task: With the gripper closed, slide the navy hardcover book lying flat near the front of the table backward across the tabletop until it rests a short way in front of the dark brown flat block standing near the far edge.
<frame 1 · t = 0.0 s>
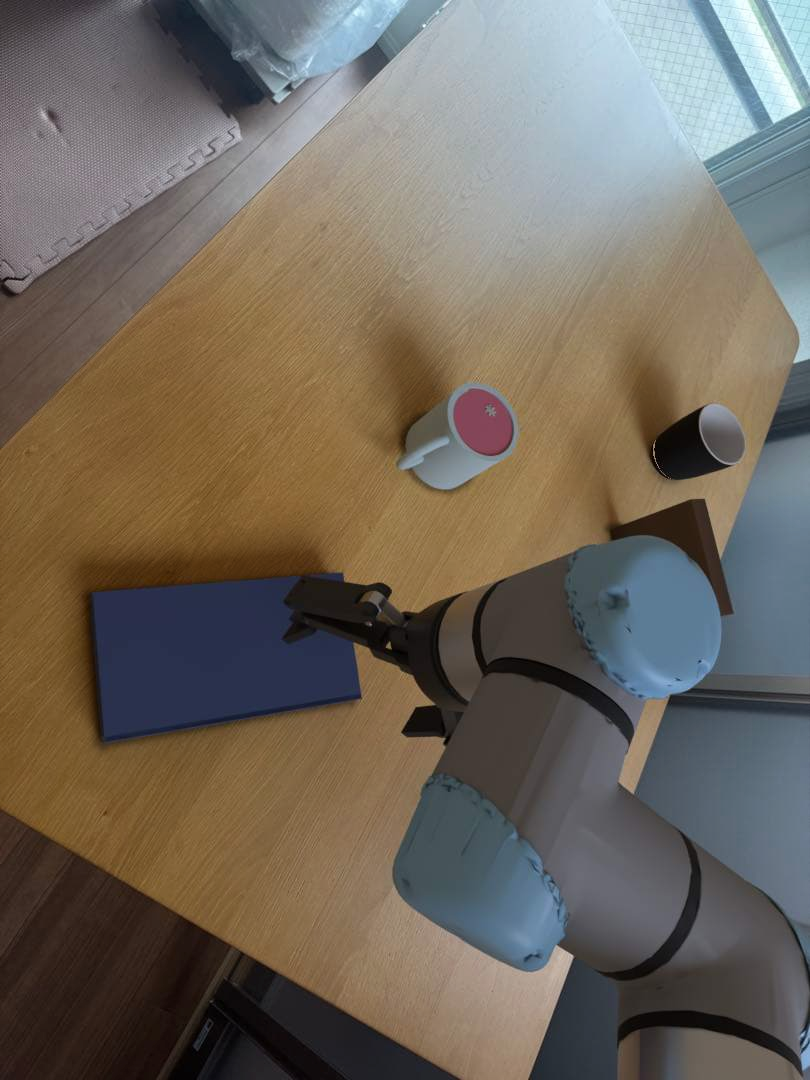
hand: (353, 676, 64), 12 cm above the table, tool pointing down, fingers open, 13 cm apart
mug 2: (424, 459, 87), on the table
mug: (669, 453, 108), on the table
book: (228, 652, 71), on the table
dark brown flat block: (627, 579, 97), on the table
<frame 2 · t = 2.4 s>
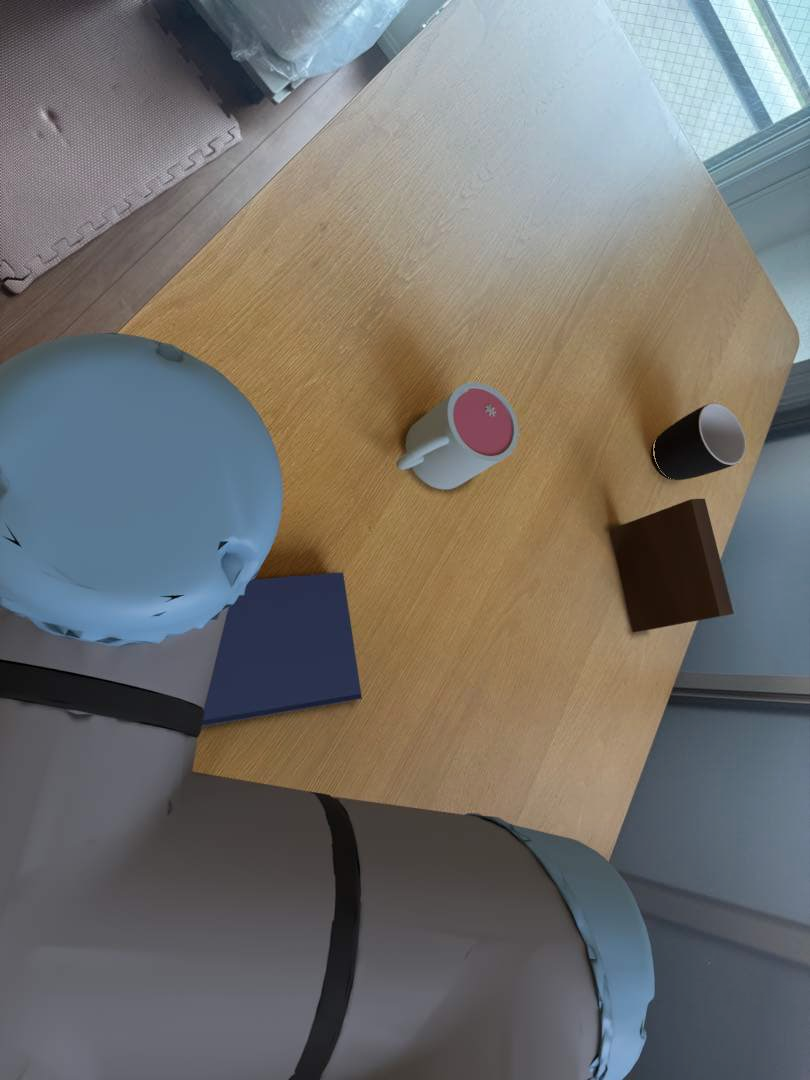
hand: (60, 653, 50), 16 cm above the table, tool pointing down, fingers closed
nothing on the table moved.
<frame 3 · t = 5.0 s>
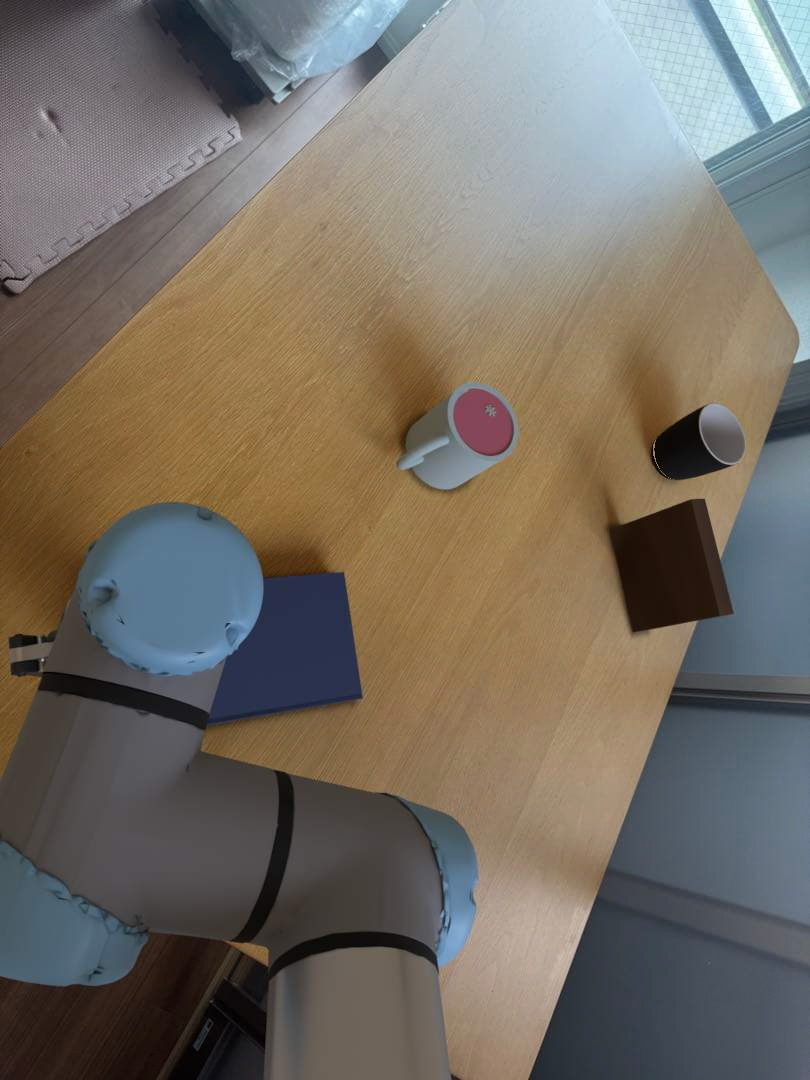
hand: (90, 665, 63), 2 cm above the table, tool pointing down, fingers closed
book: (229, 652, 71), on the table, touching gripper
everything else where it was.
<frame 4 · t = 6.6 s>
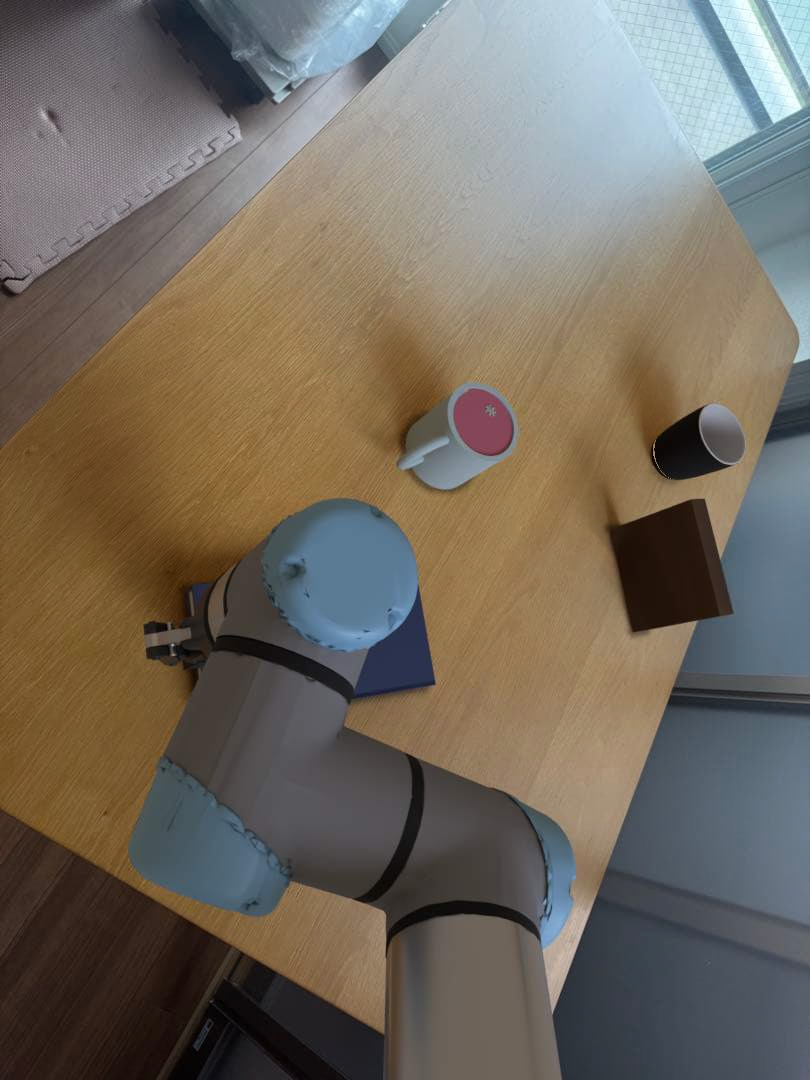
hand: (189, 654, 68), 2 cm above the table, tool pointing down, fingers closed
book: (311, 641, 75), on the table, touching gripper
everything else where it was.
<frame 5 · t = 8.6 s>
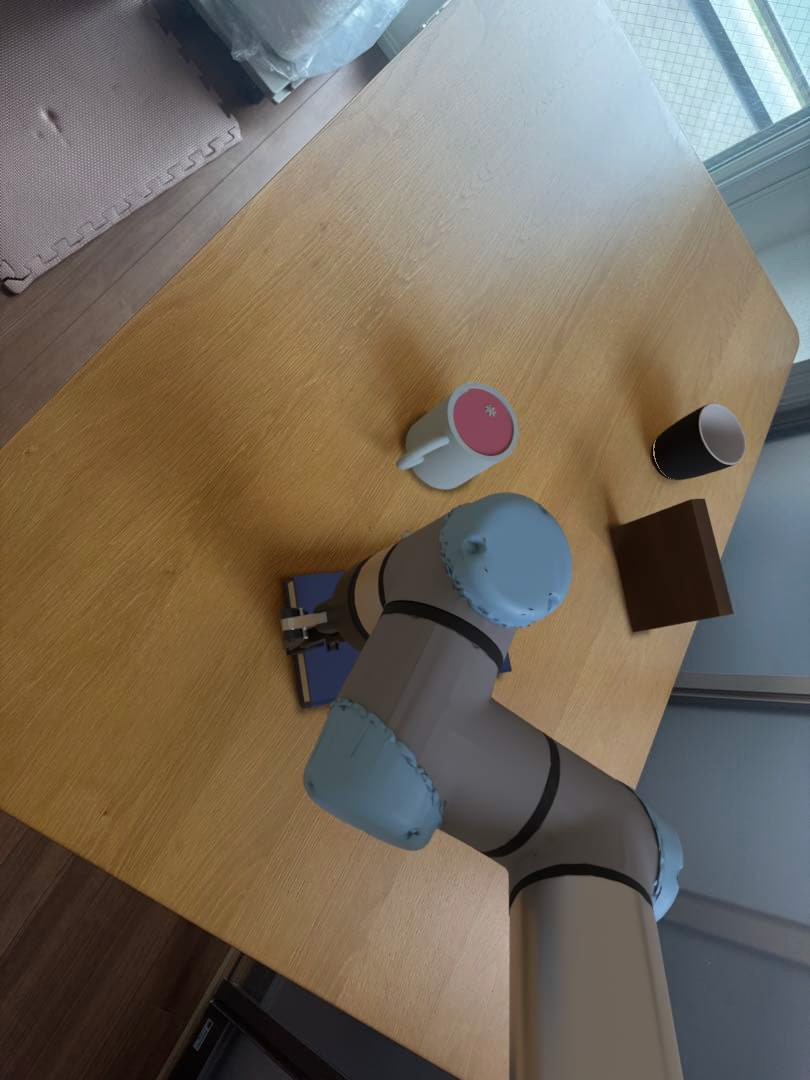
hand: (291, 641, 72), 2 cm above the table, tool pointing down, fingers closed
book: (396, 630, 80), on the table, touching gripper
everything else where it was.
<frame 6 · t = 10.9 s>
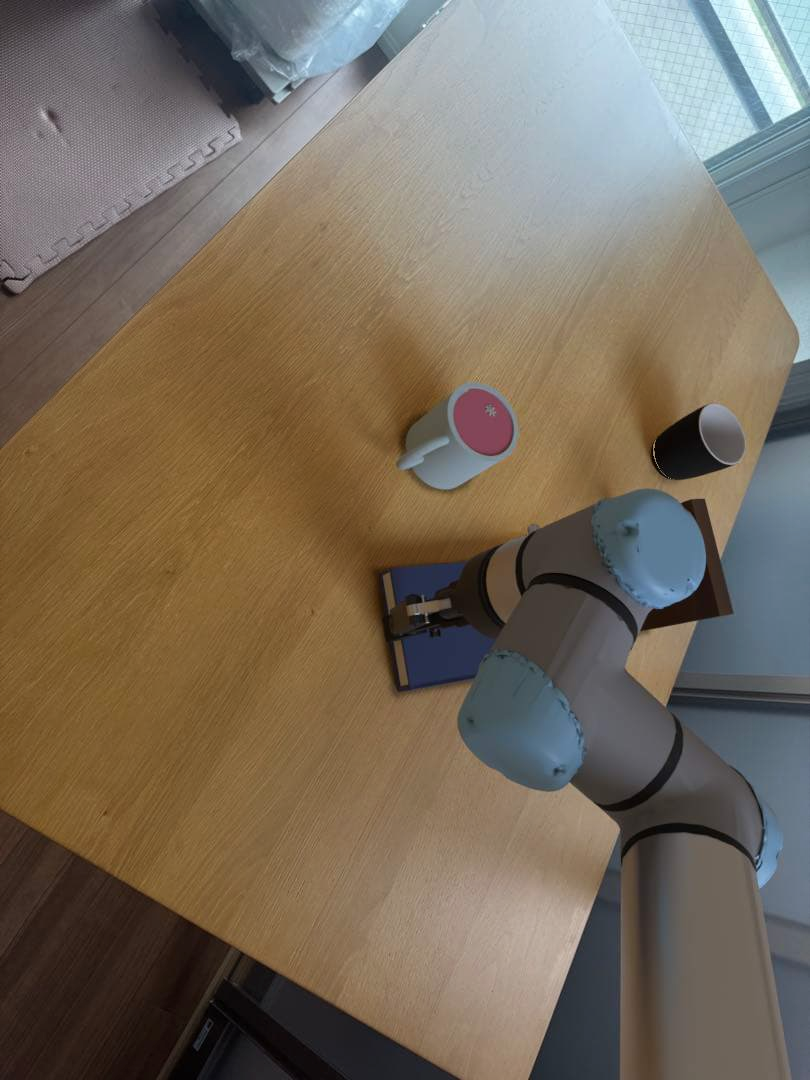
hand: (389, 628, 77), 2 cm above the table, tool pointing down, fingers closed
book: (479, 620, 85), on the table, touching gripper
everything else where it was.
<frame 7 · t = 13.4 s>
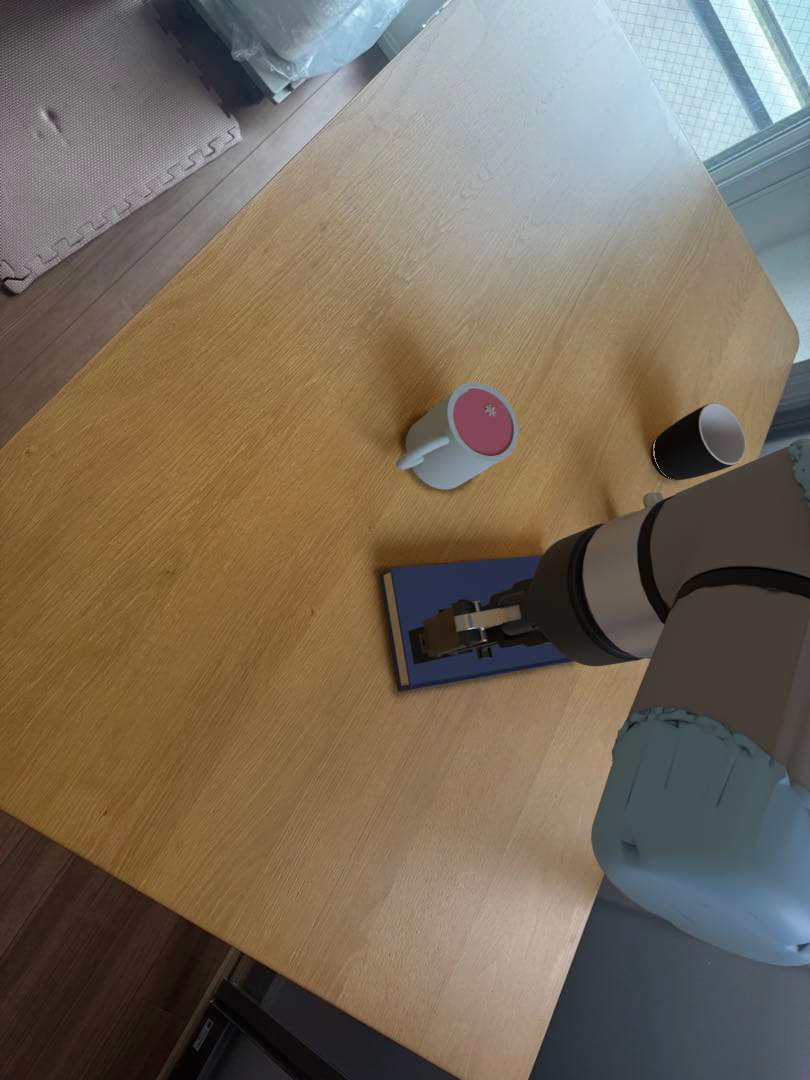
hand: (419, 646, 59), 20 cm above the table, tool pointing down, fingers closed
book: (480, 619, 85), on the table
everything else where it was.
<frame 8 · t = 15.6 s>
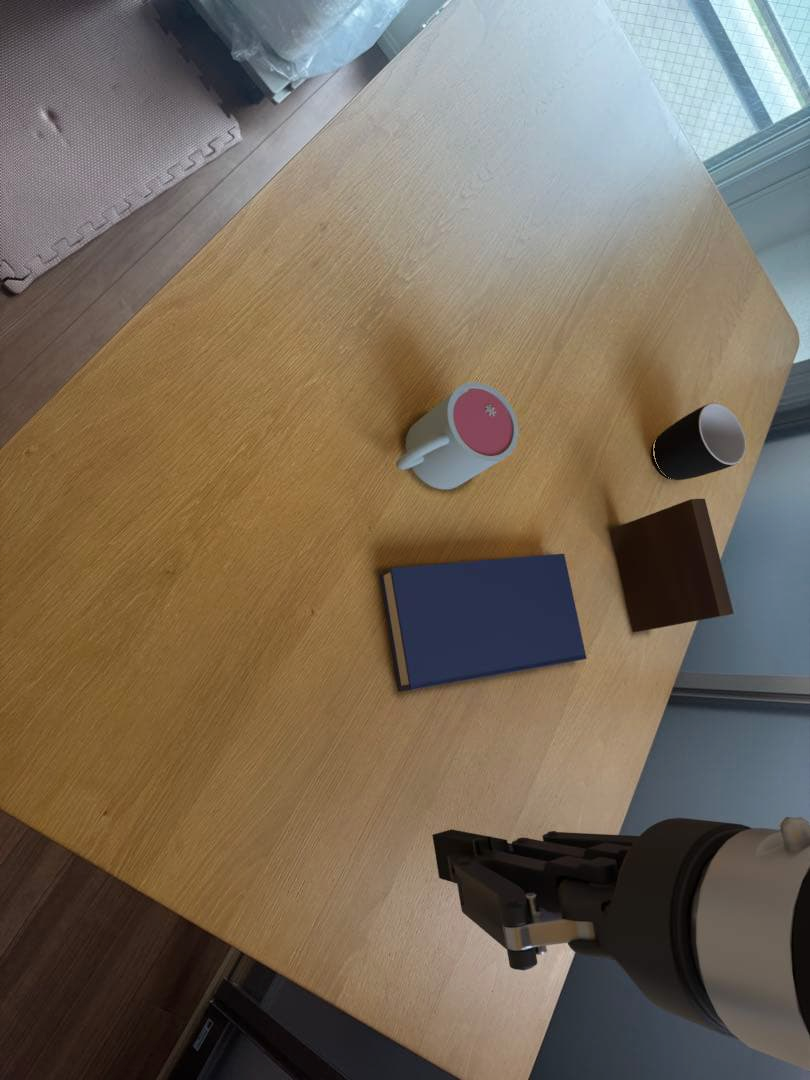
hand: (445, 853, 48), 26 cm above the table, tool pointing down, fingers closed
nothing on the table moved.
at the end: book inside the target area on the table beside the dark brown flat block (1.7 cm from its centre), on the table; book moved 29.6 cm from its start; book tilted 0° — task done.
